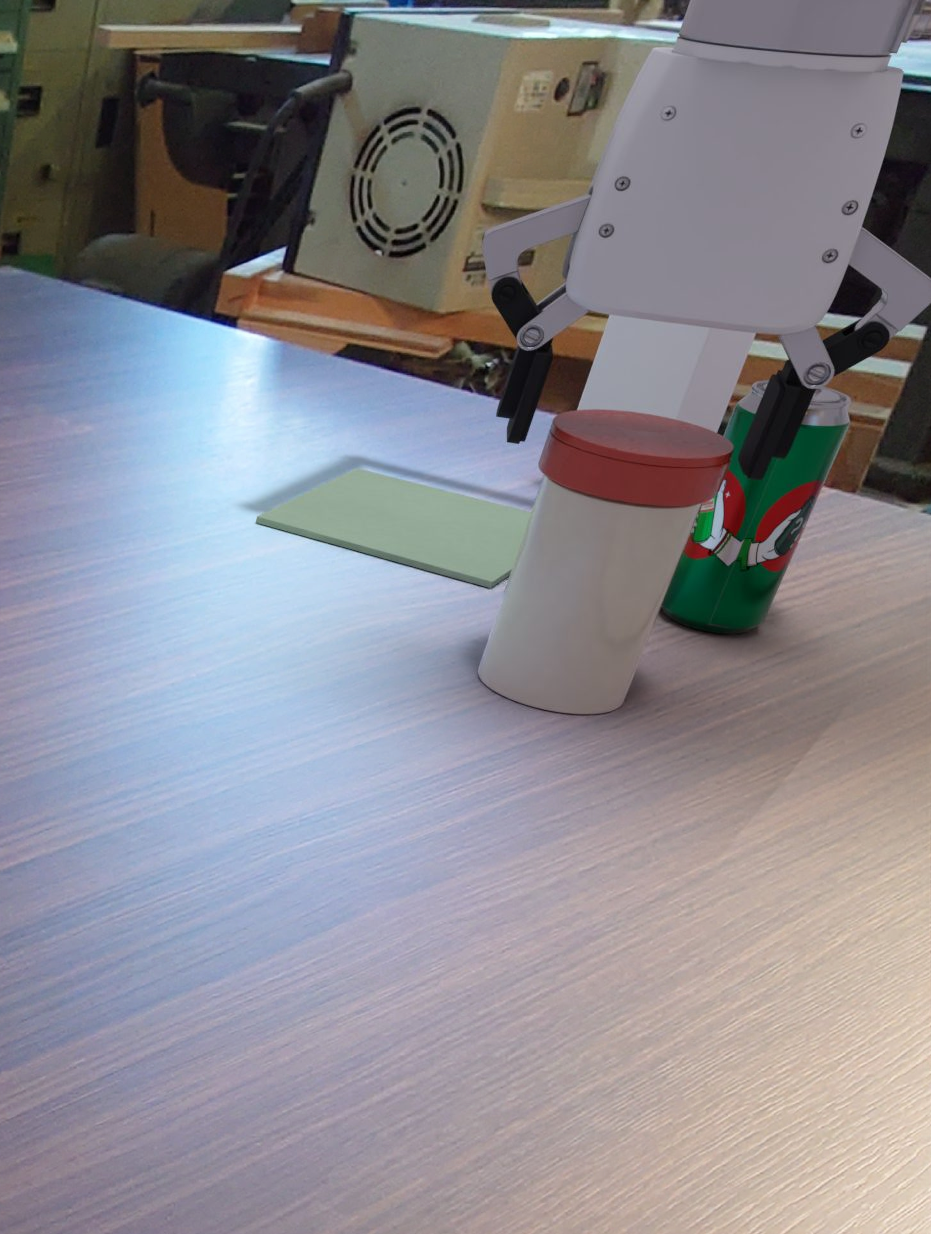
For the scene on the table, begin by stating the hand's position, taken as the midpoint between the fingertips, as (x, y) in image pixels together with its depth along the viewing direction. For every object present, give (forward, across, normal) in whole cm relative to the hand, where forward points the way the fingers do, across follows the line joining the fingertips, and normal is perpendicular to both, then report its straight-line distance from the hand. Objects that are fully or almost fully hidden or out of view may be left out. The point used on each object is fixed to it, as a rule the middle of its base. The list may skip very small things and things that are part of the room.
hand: (629, 453), depth 76 cm
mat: (+11, +7, -22) cm, 26 cm away
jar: (+11, 0, 0) cm, 11 cm away
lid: (0, 0, 0) cm, 1 cm away
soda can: (+11, -8, -14) cm, 20 cm away
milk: (+11, -5, -33) cm, 35 cm away
